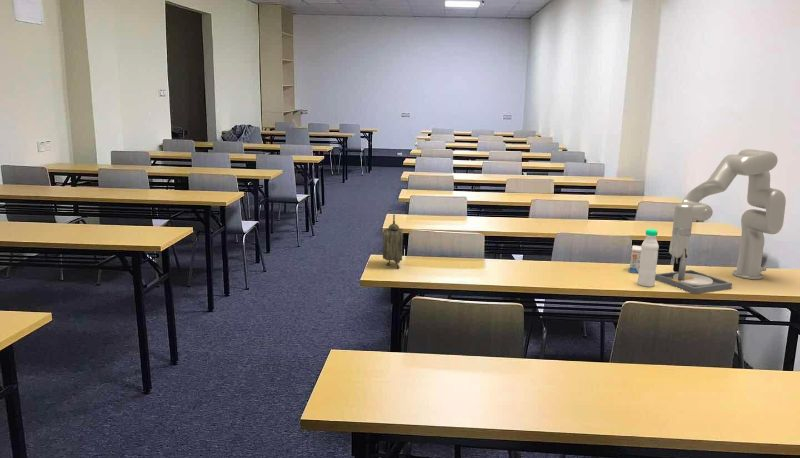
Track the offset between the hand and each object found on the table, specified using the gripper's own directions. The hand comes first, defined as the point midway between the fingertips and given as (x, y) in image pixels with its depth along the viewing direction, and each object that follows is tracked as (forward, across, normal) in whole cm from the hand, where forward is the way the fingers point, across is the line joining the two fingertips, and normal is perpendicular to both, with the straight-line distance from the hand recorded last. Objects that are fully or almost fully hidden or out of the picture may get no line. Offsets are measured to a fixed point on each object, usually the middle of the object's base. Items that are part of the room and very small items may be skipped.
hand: (677, 271), depth 271 cm
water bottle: (+5, +5, -15) cm, 17 cm away
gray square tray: (+5, +2, +6) cm, 9 cm away
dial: (+4, +2, +6) cm, 8 cm away
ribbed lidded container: (+5, -15, -129) cm, 130 cm away
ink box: (+6, -17, -11) cm, 21 cm away
